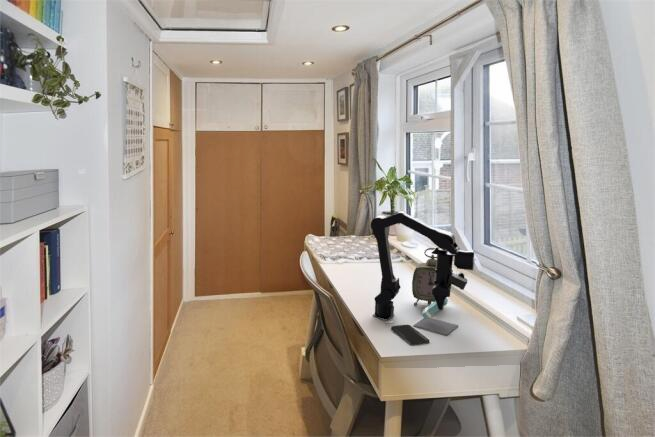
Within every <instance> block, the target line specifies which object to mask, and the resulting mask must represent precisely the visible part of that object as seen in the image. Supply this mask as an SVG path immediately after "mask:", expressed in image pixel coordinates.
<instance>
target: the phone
mask: <svg viewBox="0 0 655 437" xmlns="http://www.w3.org/2000/svg"><path fill="white" fill-rule="evenodd" d="M390 330H391V331H392V332H394V333H395V334H396V335H397V336H398V337H400V339H402V340H403V341H404V342H406V343H407V344H408V345H409V346H420V345H425V344H426V345H427V344H430V339H429V338H427V337H426V336H425V335H424V334H422V333H421V332H419V331H418V330H417V329H415V328H414V326H412V325H410V324H400V325H399V324H398V325H392V326H391V327H390Z"/></svg>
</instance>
